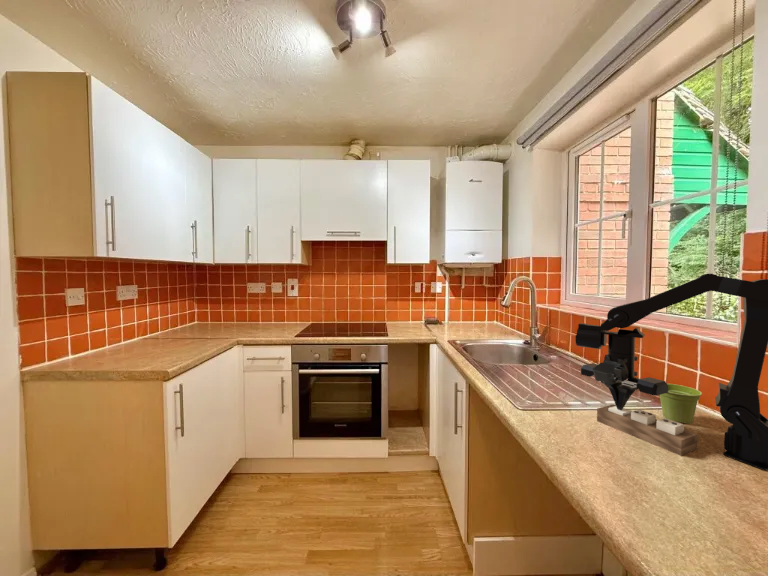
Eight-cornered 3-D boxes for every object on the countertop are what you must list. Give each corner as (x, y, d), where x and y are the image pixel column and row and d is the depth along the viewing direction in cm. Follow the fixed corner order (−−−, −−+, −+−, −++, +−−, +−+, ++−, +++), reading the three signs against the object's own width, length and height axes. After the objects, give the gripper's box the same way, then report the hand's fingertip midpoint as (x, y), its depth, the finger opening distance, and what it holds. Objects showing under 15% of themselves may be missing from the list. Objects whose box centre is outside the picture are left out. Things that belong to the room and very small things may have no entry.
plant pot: (690, 430, 81) (691, 397, 81) (648, 415, 90) (648, 385, 89) (708, 423, 85) (709, 392, 85) (665, 409, 93) (666, 381, 93)
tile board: (697, 448, 72) (697, 434, 72) (681, 455, 69) (681, 440, 69) (612, 416, 89) (613, 404, 89) (596, 420, 86) (597, 408, 86)
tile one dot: (630, 419, 83) (631, 410, 83) (622, 422, 82) (622, 412, 82) (616, 414, 86) (616, 405, 86) (608, 416, 85) (608, 407, 85)
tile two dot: (683, 434, 73) (683, 423, 73) (674, 437, 72) (675, 426, 71) (664, 427, 76) (664, 417, 76) (656, 430, 75) (656, 419, 75)
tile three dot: (655, 424, 78) (655, 414, 78) (647, 426, 77) (647, 416, 77) (639, 418, 81) (639, 408, 81) (630, 420, 80) (631, 410, 80)
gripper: (568, 347, 89) (567, 401, 89) (643, 364, 72) (642, 430, 72) (593, 344, 93) (592, 395, 94) (670, 359, 76) (668, 421, 77)
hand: (619, 408), depth 84 cm, fingers closed, pressing on tile one dot
